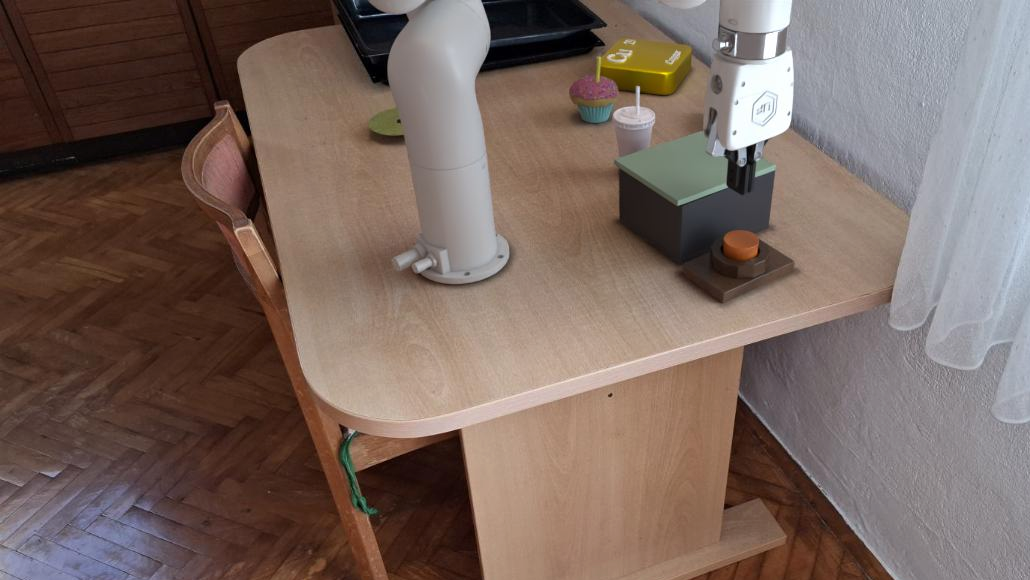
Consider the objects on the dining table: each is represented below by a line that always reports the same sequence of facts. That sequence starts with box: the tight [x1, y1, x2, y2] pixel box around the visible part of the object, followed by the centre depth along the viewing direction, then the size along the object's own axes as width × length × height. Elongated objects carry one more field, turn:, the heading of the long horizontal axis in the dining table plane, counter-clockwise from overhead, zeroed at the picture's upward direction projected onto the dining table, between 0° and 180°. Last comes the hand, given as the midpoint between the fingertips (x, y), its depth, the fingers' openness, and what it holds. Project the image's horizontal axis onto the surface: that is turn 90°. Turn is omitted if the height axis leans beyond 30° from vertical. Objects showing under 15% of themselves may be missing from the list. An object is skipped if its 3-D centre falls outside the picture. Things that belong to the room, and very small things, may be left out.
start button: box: [723, 230, 760, 261], centre depth 108 cm, size 4×4×2 cm
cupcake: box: [568, 52, 620, 124], centre depth 145 cm, size 9×8×12 cm
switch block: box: [682, 236, 796, 304], centre depth 110 cm, size 12×8×4 cm, turn 124°
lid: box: [613, 130, 777, 206], centre depth 114 cm, size 17×14×1 cm
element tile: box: [600, 37, 693, 96], centre depth 160 cm, size 15×15×5 cm
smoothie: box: [611, 86, 656, 158], centre depth 128 cm, size 6×6×14 cm
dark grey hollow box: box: [618, 167, 776, 266], centre depth 117 cm, size 16×14×9 cm
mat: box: [367, 107, 404, 136], centre depth 145 cm, size 11×11×2 cm
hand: (739, 188), depth 104 cm, fingers closed
